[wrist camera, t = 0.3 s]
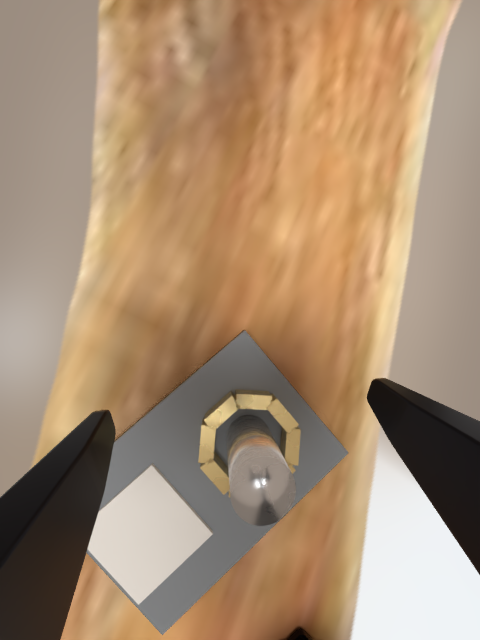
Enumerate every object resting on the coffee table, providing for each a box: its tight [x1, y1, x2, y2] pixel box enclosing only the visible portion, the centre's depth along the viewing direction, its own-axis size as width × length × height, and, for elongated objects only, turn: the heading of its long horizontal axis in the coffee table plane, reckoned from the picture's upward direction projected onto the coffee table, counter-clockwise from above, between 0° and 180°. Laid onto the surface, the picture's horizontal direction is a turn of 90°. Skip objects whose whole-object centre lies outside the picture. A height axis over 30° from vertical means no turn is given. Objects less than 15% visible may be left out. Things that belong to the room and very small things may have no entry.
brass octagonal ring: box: [198, 389, 301, 497], centre depth 20 cm, size 8×8×2 cm
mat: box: [88, 463, 213, 605], centre depth 20 cm, size 8×8×1 cm
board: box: [87, 330, 348, 635], centre depth 21 cm, size 15×22×1 cm
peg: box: [226, 415, 296, 526], centre depth 18 cm, size 4×4×7 cm
